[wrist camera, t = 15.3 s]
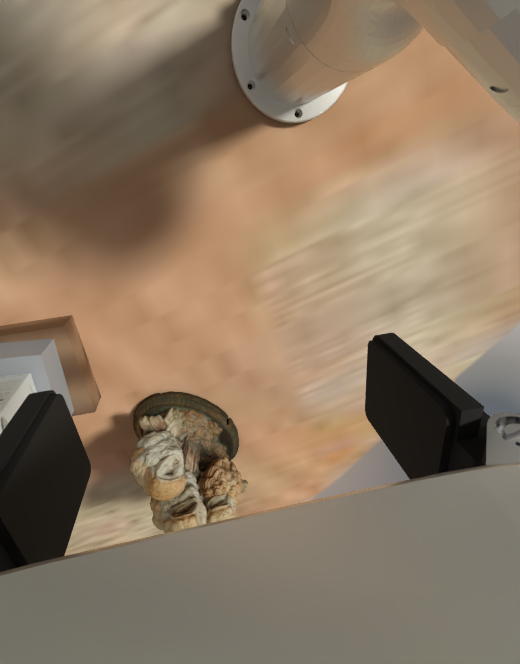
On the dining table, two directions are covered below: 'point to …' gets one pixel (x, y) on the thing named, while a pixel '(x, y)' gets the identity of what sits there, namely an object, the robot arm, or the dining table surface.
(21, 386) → the supplement box
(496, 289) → the dining table surface
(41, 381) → the grey top block
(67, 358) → the walnut base block
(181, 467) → the carved figurine
